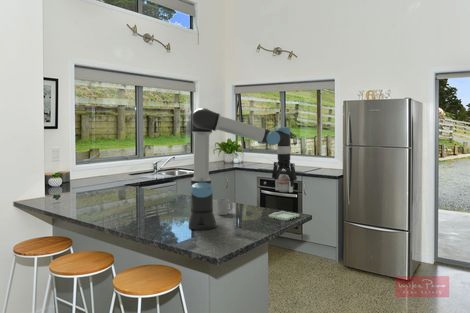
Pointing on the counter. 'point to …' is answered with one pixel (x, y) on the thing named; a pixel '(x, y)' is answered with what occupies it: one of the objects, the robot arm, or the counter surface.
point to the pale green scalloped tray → (283, 215)
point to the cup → (223, 206)
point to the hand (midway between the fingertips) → (284, 190)
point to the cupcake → (283, 184)
